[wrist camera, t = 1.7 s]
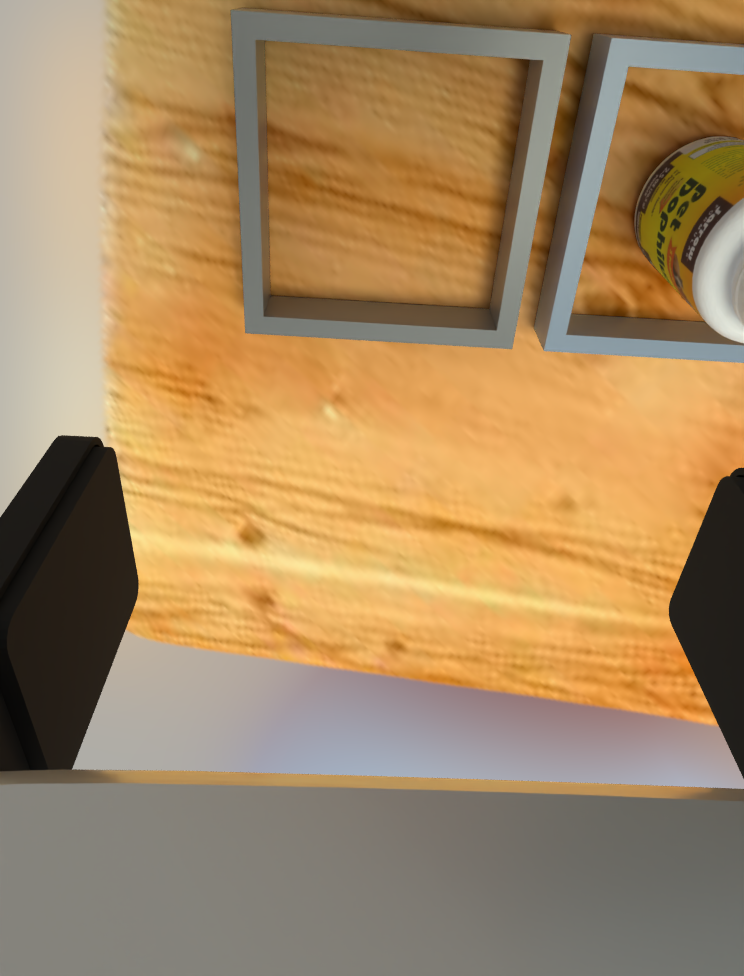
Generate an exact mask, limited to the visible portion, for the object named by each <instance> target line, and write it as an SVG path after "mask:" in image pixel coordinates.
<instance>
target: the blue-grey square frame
mask: <svg viewBox="0 0 744 976" xmlns="http://www.w3.org/2000/svg"><path fill="white" fill-rule="evenodd" d="M628 67H643V68H657V69H671V70H685V71H699V72H713V73H727V74H740V75H744V44H731V43H717V42H704V41H690V40H676V39H663V38H649V37H635V36H622V35H608V34H594V35H593V40H592V45H591V50H590V54H589V59H588V64H587V69H586V74H585V79H584V84H583V89H582V94H581V99H580V104H579V108H578V113H577V118H576V123H575V128H574V133H573V138H572V143H571V148H570V153H569V158H568V162H567V167H566V172H565V177H564V182H563V187H562V192H561V197H560V202H559V207H558V211H557V216H556V221H555V226H554V231H553V236H552V241H551V246H550V251H549V256H548V261H547V265H546V270H545V275H544V280H543V285H542V290H541V295H540V300H539V305H538V310H537V314H536V319H535V324H534V330H535V332H536V334H537V337H538V339H539V341H540V343H541V346H542V348H543V350H544V351H553V352H570V353H587V354H604V355H621V356H637V357H654V358H671V359H688V360H705V361H721V362H738V363H744V343H740V342H737V341H733V340H731V339H728V338H726V337H724V336H722V335H721V334H719V333H718V332H716V331H715V330H714V329H713V328H712V327H710V326H709V325H708V324H707V323H706V322H696V321H680V320H663V319H647V318H630V317H614V316H598V315H581V314H571V311H572V307H573V303H574V299H575V294H576V290H577V286H578V281H579V277H580V273H581V269H582V264H583V260H584V256H585V251H586V247H587V243H588V239H589V234H590V230H591V226H592V221H593V217H594V213H595V209H596V204H597V200H598V196H599V191H600V187H601V183H602V178H603V174H604V170H605V166H606V161H607V157H608V153H609V148H610V144H611V140H612V136H613V131H614V127H615V123H616V118H617V114H618V110H619V106H620V101H621V97H622V93H623V88H624V84H625V80H626V76H627V71H628Z"/></svg>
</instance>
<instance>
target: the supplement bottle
mask: <svg viewBox="0 0 744 976" xmlns="http://www.w3.org/2000/svg"><path fill="white" fill-rule="evenodd" d="M634 224H635V234H636V238H637V241H638V244H639V246H640V249H641V250H642V252H643V254H644V255H645V256H646V258H647V259H648V261H649V262H650V263H651V264H652V265H653V266H654V268H655V269H656V270H657V271H658V272H659V273H660V274H661V275H662V276H663V277H664V278H665V279H666V280H667V281H668V282H669V283H670V285H671V286H672V287H673V288H674V289H675V290H676V291H677V292H678V293H679V294H680V295H681V297H682V298H683V299H684V300H685V301H686V302H687V303H688V304H689V305H690V306H691V307H692V308H693V309H694V310H695V311H696V312H697V313H698V314H699V315H700V316H701V318H702V319H703V320H704V321H705V322H706V323H707V324H708V325H709V326H710V327H712V328H713V329H714V330H715V331H716V332H718V333H719V334H721V335H722V336H724V337H726V338H728V339H731V340H733V341H737V342H740V343H744V140H741V139H737V138H734V137H725V136H716V137H708V138H704V139H700V140H697V141H694V142H691V143H689V144H687V145H685V146H683V147H681V148H680V149H678V150H676V151H675V152H673V153H672V154H671V155H669V156H668V157H667V158H666V159H665V160H663V162H662V163H661V164H660V165H659V166H658V167H657V168H656V169H655V170H654V171H653V173H652V174H651V175H650V177H649V178H648V180H647V182H646V183H645V185H644V187H643V189H642V191H641V194H640V196H639V199H638V202H637V206H636V211H635V222H634Z"/></svg>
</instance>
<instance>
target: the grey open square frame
mask: <svg viewBox="0 0 744 976" xmlns="http://www.w3.org/2000/svg"><path fill="white" fill-rule="evenodd" d="M231 27H232V49H233V71H234V94H235V116H236V138H237V160H238V182H239V204H240V226H241V249H242V271H243V293H244V315H245V333H251V334H268V335H284V336H301V337H318V338H335V339H352V340H368V341H385V342H402V343H419V344H436V345H452V346H469V347H486V348H503V349H512V347H513V342H514V336H515V331H516V326H517V321H518V315H519V310H520V305H521V299H522V294H523V289H524V283H525V278H526V273H527V268H528V262H529V257H530V252H531V246H532V241H533V236H534V230H535V225H536V220H537V215H538V209H539V204H540V199H541V193H542V188H543V183H544V177H545V172H546V167H547V161H548V156H549V151H550V146H551V140H552V135H553V130H554V124H555V119H556V114H557V108H558V103H559V98H560V93H561V87H562V82H563V77H564V71H565V66H566V61H567V55H568V50H569V45H570V40H571V35H570V34H566V33H563V32H559V31H553V30H539V29H526V28H512V27H498V26H485V25H471V24H457V23H444V22H430V21H416V20H403V19H389V18H375V17H362V16H348V15H334V14H321V13H307V12H293V11H280V10H266V9H252V8H238V9H233V10H231ZM265 40H267V41H281V42H295V43H309V44H323V45H337V46H350V47H364V48H378V49H392V50H406V51H420V52H434V53H448V54H462V55H476V56H490V57H504V58H518V59H530V63H529V69H528V75H527V81H526V88H525V94H524V100H523V106H522V112H521V118H520V124H519V131H518V137H517V143H516V149H515V155H514V161H513V167H512V174H511V180H510V186H509V192H508V198H507V204H506V210H505V216H504V223H503V229H502V235H501V241H500V247H499V253H498V259H497V266H496V272H495V278H494V284H493V290H492V296H491V302H490V309H483V308H467V307H451V306H434V305H418V304H401V303H385V302H369V301H352V300H336V299H320V298H303V297H287V296H271V291H270V246H269V202H268V157H267V113H266V69H265Z"/></svg>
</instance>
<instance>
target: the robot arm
mask: <svg viewBox="0 0 744 976" xmlns="http://www.w3.org/2000/svg"><path fill="white" fill-rule="evenodd" d="M137 595H138V575H137V569H136V564H135V558H134V552H133V547H132V541H131V536H130V530H129V525H128V519H127V513H126V508H125V502H124V497H123V491H122V485H121V480H120V474H119V469H118V463H117V458H116V454H115V451H114V449H113V448H112V447H104V445H103V443H102V441H101V439H100V438H98V437H83V436H63V435H62V436H58V437H57V438H56V439H55V440H54V441H53V443H52V444H51V446H50V447H49V449H48V450H47V451H46V453H45V454H44V456H43V457H42V459H41V460H40V462H39V463H38V464H37V466H36V467H35V469H34V470H33V472H32V473H31V474H30V476H29V477H28V479H27V480H26V482H25V483H24V484H23V486H22V487H21V489H20V490H19V491H18V493H17V495H16V496H15V497H14V499H13V500H12V502H11V503H10V505H9V506H8V507H7V509H6V510H5V512H4V513H3V514H2V516H1V517H0V976H744V789H729V788H702V787H677V786H650V785H625V784H599V783H570V782H568V783H567V782H540V781H508V780H480V779H449V778H418V777H387V776H351V775H316V774H280V773H244V772H207V771H153V770H152V771H151V770H150V771H148V770H147V771H146V770H72V768H73V765H74V762H75V760H76V757H77V755H78V752H79V749H80V747H81V744H82V742H83V739H84V736H85V734H86V731H87V729H88V726H89V723H90V720H91V718H92V715H93V713H94V710H95V708H96V705H97V702H98V700H99V697H100V695H101V692H102V689H103V686H104V684H105V682H106V679H107V676H108V674H109V671H110V668H111V666H112V663H113V661H114V658H115V655H116V653H117V650H118V647H119V645H120V642H121V640H122V637H123V634H124V632H125V629H126V627H127V624H128V621H129V619H130V616H131V614H132V611H133V608H134V606H135V603H136V600H137ZM669 617H670V621H671V624H672V627H673V629H674V631H675V633H676V635H677V637H678V639H679V642H680V644H681V646H682V648H683V650H684V652H685V654H686V656H687V659H688V661H689V663H690V665H691V667H692V669H693V671H694V674H695V676H696V678H697V680H698V682H699V684H700V686H701V688H702V691H703V693H704V695H705V697H706V699H707V701H708V703H709V706H710V708H711V710H712V712H713V714H714V716H715V718H716V720H717V723H718V725H719V727H720V729H721V731H722V733H723V735H724V738H725V740H726V742H727V744H728V746H729V748H730V750H731V753H732V755H733V757H734V759H735V761H736V763H737V765H738V767H739V770H740V771H741V774H742V776H743V778H744V468H738V469H736V470H735V471H734V472H733V473H731V475H730V476H726V477H723V478H722V479H721V480H720V482H719V484H718V486H717V488H716V491H715V493H714V495H713V498H712V500H711V503H710V505H709V508H708V510H707V513H706V515H705V517H704V520H703V522H702V525H701V527H700V530H699V532H698V534H697V537H696V539H695V542H694V544H693V547H692V549H691V552H690V554H689V556H688V559H687V561H686V564H685V566H684V569H683V571H682V573H681V576H680V578H679V581H678V583H677V586H676V588H675V591H674V593H673V595H672V598H671V601H670V604H669Z"/></svg>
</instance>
